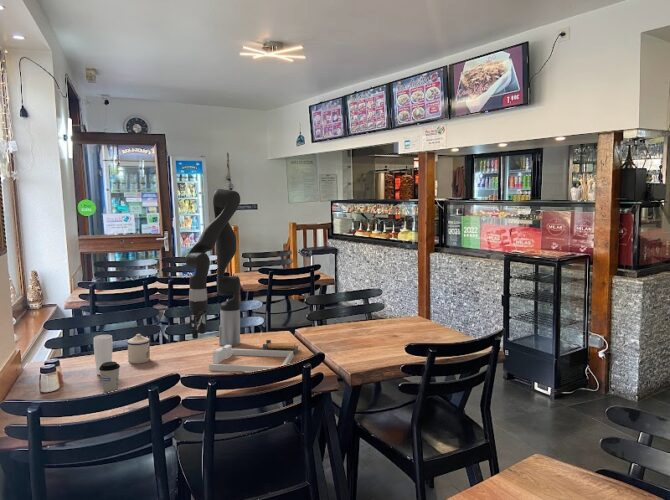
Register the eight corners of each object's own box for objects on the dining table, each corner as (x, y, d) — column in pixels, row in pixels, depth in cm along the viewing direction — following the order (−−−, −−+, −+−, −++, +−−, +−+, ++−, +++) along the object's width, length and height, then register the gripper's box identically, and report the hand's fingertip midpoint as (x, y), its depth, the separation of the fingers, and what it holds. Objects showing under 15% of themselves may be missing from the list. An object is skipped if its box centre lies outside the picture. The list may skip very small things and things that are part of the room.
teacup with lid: (152, 362, 207) (151, 335, 206) (129, 365, 202) (128, 338, 201) (147, 354, 217) (147, 329, 216) (125, 357, 213) (125, 331, 212)
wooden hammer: (264, 348, 222) (264, 345, 222) (266, 345, 227) (266, 342, 227) (293, 348, 221) (293, 345, 221) (295, 345, 226) (295, 342, 226)
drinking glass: (98, 370, 196) (97, 334, 194) (116, 370, 196) (114, 334, 195) (91, 376, 189) (90, 339, 187) (109, 376, 189) (108, 339, 188)
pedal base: (260, 353, 221) (260, 344, 221) (264, 348, 229) (264, 339, 229) (295, 354, 219) (295, 345, 219) (298, 349, 227) (298, 340, 227)
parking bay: (209, 370, 197) (208, 364, 197) (226, 353, 220) (226, 348, 219) (283, 373, 195) (283, 367, 194) (293, 356, 217) (293, 351, 216)
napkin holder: (213, 367, 203) (213, 353, 203) (202, 360, 212) (202, 347, 211) (245, 360, 213) (245, 347, 212) (233, 353, 221) (233, 341, 221)
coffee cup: (114, 385, 180) (113, 359, 179) (124, 389, 176) (123, 363, 175) (95, 391, 175) (94, 364, 174) (106, 395, 171) (105, 368, 170)
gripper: (195, 295, 214) (196, 331, 215) (183, 301, 200) (183, 340, 201) (212, 296, 213) (212, 332, 215) (200, 302, 199) (201, 340, 201)
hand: (198, 336), depth 208 cm, fingers open, 8 cm apart
